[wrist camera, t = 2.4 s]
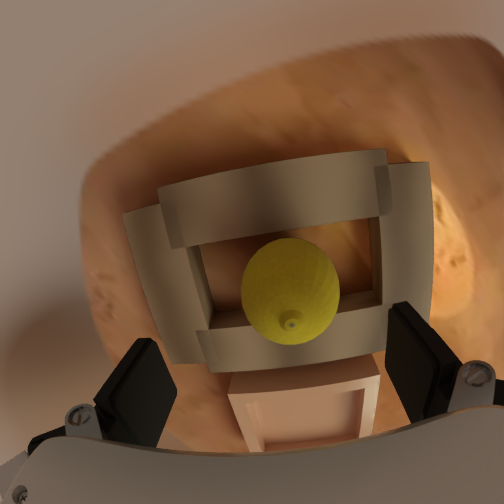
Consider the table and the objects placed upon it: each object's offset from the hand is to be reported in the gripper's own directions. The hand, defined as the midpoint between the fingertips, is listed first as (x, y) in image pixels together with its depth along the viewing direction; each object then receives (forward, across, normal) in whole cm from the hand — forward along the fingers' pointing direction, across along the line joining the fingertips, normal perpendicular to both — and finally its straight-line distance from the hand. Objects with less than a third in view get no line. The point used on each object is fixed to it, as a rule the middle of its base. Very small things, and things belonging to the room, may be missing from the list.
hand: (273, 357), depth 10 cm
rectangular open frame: (+10, -1, 0) cm, 10 cm away
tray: (+10, -1, +15) cm, 18 cm away
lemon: (+10, -1, 0) cm, 10 cm away
